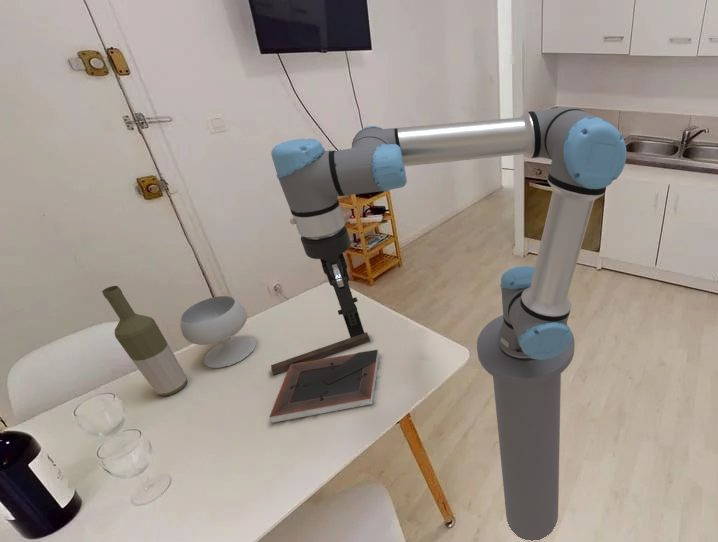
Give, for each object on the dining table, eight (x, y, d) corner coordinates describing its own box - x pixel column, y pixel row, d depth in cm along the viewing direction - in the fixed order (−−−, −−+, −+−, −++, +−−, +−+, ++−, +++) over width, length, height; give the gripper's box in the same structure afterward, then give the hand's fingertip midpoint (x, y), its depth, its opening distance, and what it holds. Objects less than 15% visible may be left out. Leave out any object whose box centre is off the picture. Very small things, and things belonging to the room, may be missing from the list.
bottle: (195, 384, 103) (136, 285, 88) (162, 403, 98) (93, 302, 83) (183, 372, 106) (125, 276, 91) (151, 391, 101) (83, 292, 86)
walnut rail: (368, 337, 116) (367, 331, 115) (370, 341, 115) (368, 335, 114) (273, 370, 106) (271, 365, 105) (273, 375, 104) (271, 369, 103)
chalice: (201, 348, 114) (177, 305, 107) (258, 329, 121) (239, 287, 113) (199, 379, 104) (172, 334, 96) (261, 357, 110) (241, 313, 103)
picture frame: (379, 356, 110) (293, 370, 106) (377, 349, 108) (290, 363, 105) (372, 405, 95) (272, 424, 92) (370, 398, 94) (269, 416, 90)
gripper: (297, 222, 75) (333, 322, 86) (302, 252, 65) (342, 360, 76) (340, 212, 78) (369, 310, 89) (351, 239, 68) (382, 345, 79)
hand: (356, 333), depth 83 cm, fingers closed
